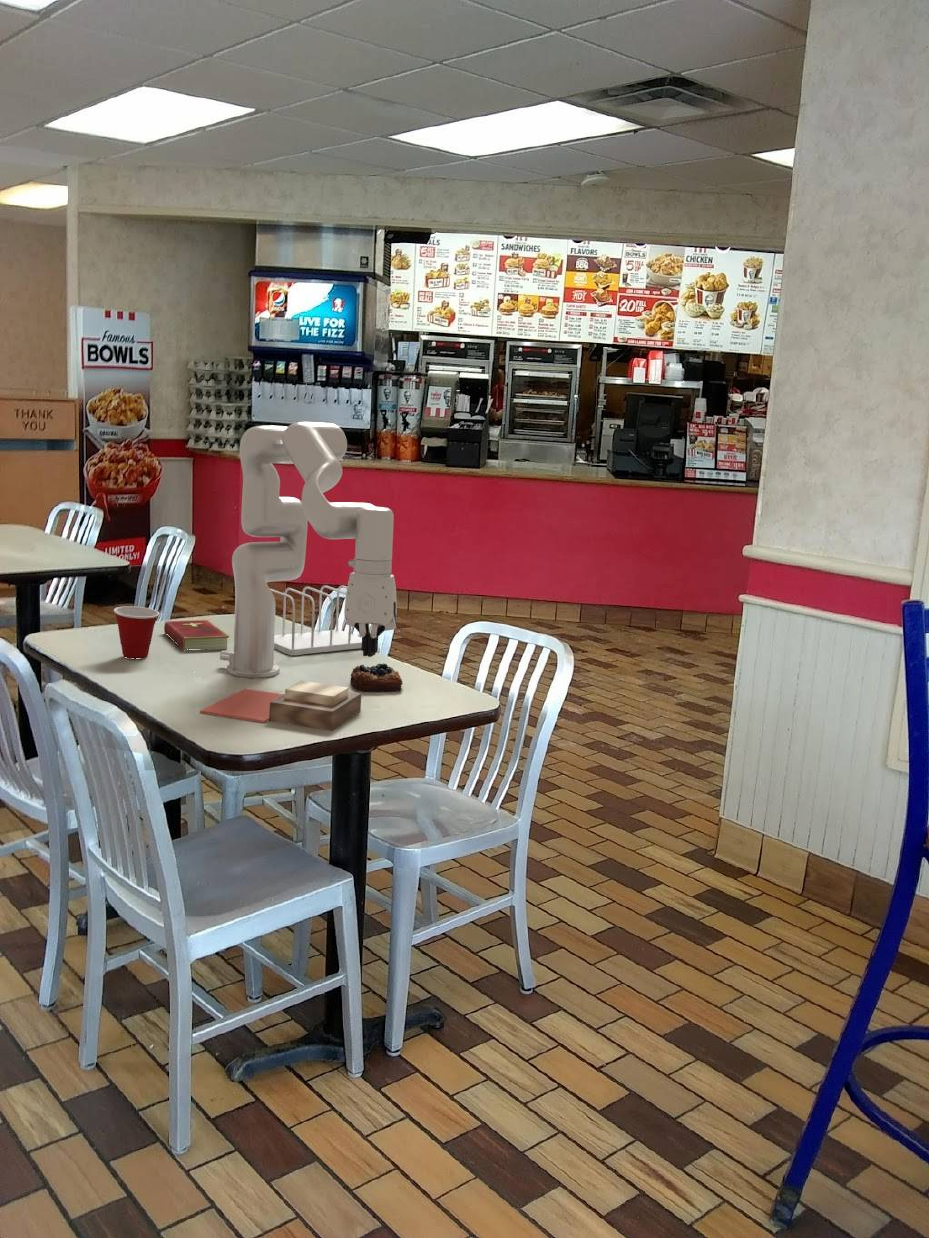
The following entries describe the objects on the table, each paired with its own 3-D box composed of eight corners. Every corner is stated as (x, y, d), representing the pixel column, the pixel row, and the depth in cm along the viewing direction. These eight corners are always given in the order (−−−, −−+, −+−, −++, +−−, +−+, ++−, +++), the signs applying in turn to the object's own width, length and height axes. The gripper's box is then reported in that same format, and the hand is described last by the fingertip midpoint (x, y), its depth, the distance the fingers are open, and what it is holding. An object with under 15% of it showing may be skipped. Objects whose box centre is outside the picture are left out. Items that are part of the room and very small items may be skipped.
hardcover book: (182, 653, 275) (183, 637, 274) (164, 635, 293) (164, 620, 292) (228, 650, 281) (229, 635, 280) (207, 633, 299) (207, 618, 298)
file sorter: (338, 635, 306) (340, 582, 303) (371, 649, 293) (374, 593, 290) (259, 642, 291) (261, 586, 288) (290, 657, 278) (293, 598, 275)
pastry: (345, 681, 258) (347, 658, 256) (393, 680, 262) (395, 657, 260) (356, 694, 247) (358, 669, 246) (406, 692, 251) (407, 668, 250)
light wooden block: (284, 698, 224) (285, 689, 224) (300, 689, 232) (301, 680, 232) (333, 705, 222) (333, 696, 221) (348, 696, 229) (348, 687, 229)
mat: (200, 712, 224) (200, 710, 224) (244, 690, 243) (245, 688, 243) (264, 722, 220) (264, 720, 220) (304, 699, 239) (305, 697, 239)
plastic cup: (147, 664, 259) (147, 615, 257) (105, 659, 261) (105, 611, 259) (166, 654, 270) (167, 608, 268) (126, 650, 272) (126, 604, 269)
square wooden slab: (269, 720, 222) (269, 701, 221) (301, 701, 237) (302, 684, 236) (331, 730, 218) (332, 711, 217) (360, 710, 233) (361, 693, 233)
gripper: (331, 566, 217) (328, 654, 220) (401, 573, 213) (397, 663, 216) (346, 562, 224) (342, 648, 227) (413, 568, 220) (409, 656, 223)
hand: (369, 655), depth 221 cm, fingers closed
